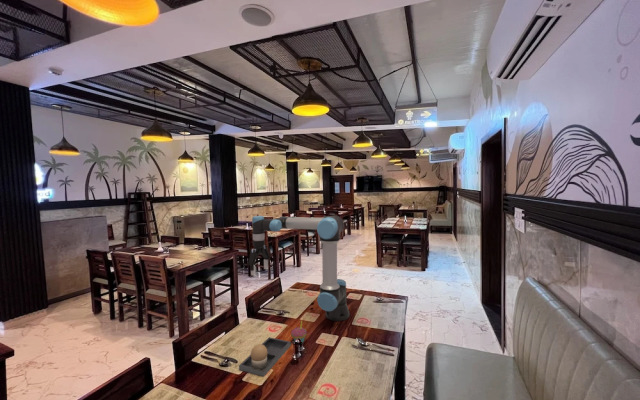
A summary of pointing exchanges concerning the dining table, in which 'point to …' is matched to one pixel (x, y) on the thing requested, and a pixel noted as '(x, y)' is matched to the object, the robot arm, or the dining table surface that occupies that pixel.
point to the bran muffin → (259, 356)
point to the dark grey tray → (274, 354)
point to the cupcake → (299, 333)
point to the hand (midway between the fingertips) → (259, 272)
